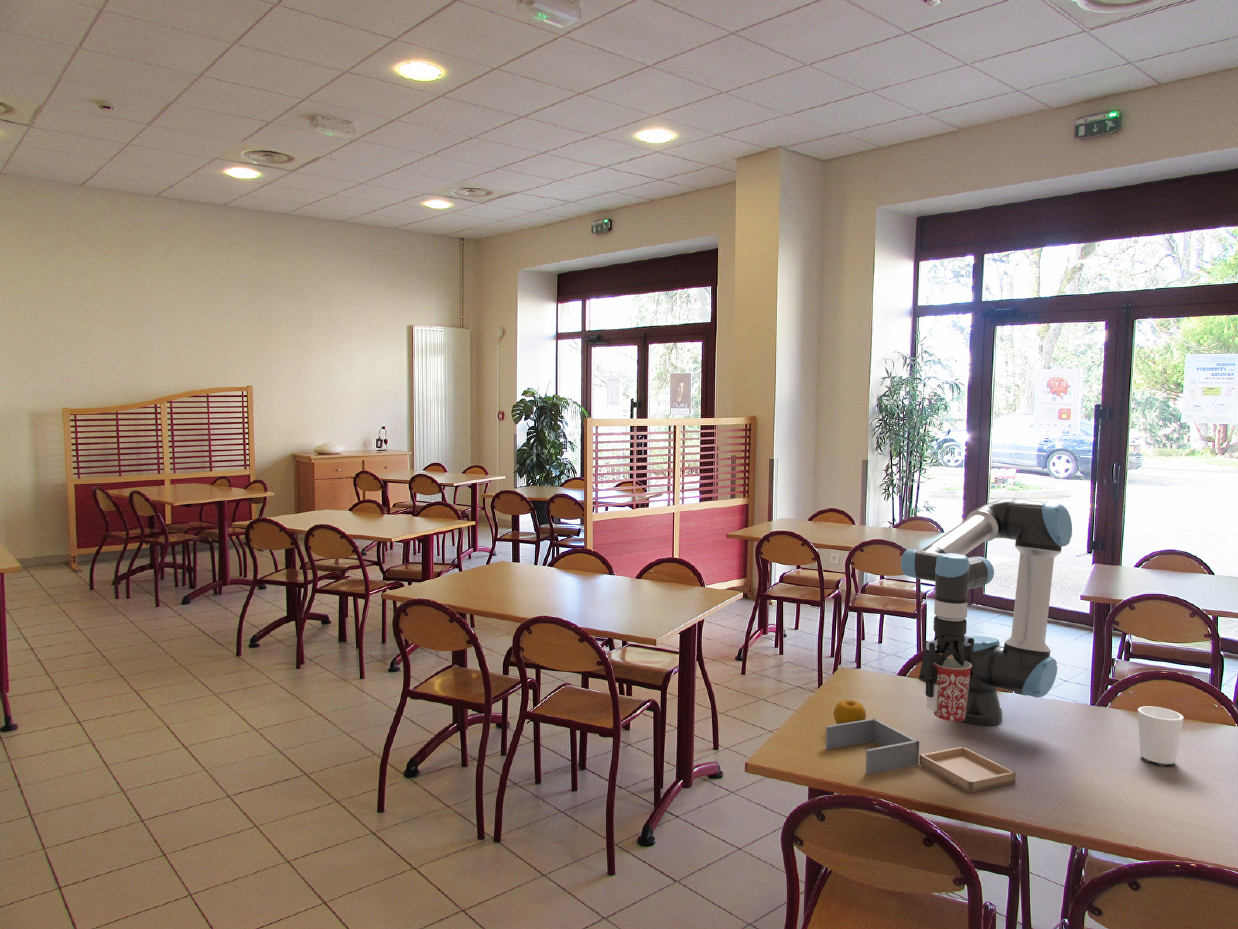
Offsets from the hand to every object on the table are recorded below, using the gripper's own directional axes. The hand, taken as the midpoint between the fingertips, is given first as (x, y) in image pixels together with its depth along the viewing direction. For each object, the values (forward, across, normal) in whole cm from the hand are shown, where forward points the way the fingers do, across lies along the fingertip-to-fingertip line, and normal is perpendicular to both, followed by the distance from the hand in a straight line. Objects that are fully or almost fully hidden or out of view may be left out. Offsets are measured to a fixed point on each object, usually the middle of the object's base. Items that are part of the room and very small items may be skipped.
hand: (946, 706), depth 202 cm
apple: (+16, +8, -28) cm, 33 cm away
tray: (+16, -4, +4) cm, 17 cm away
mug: (+2, -1, 0) cm, 2 cm away
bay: (+16, +12, -13) cm, 24 cm away
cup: (+17, -56, +15) cm, 61 cm away
